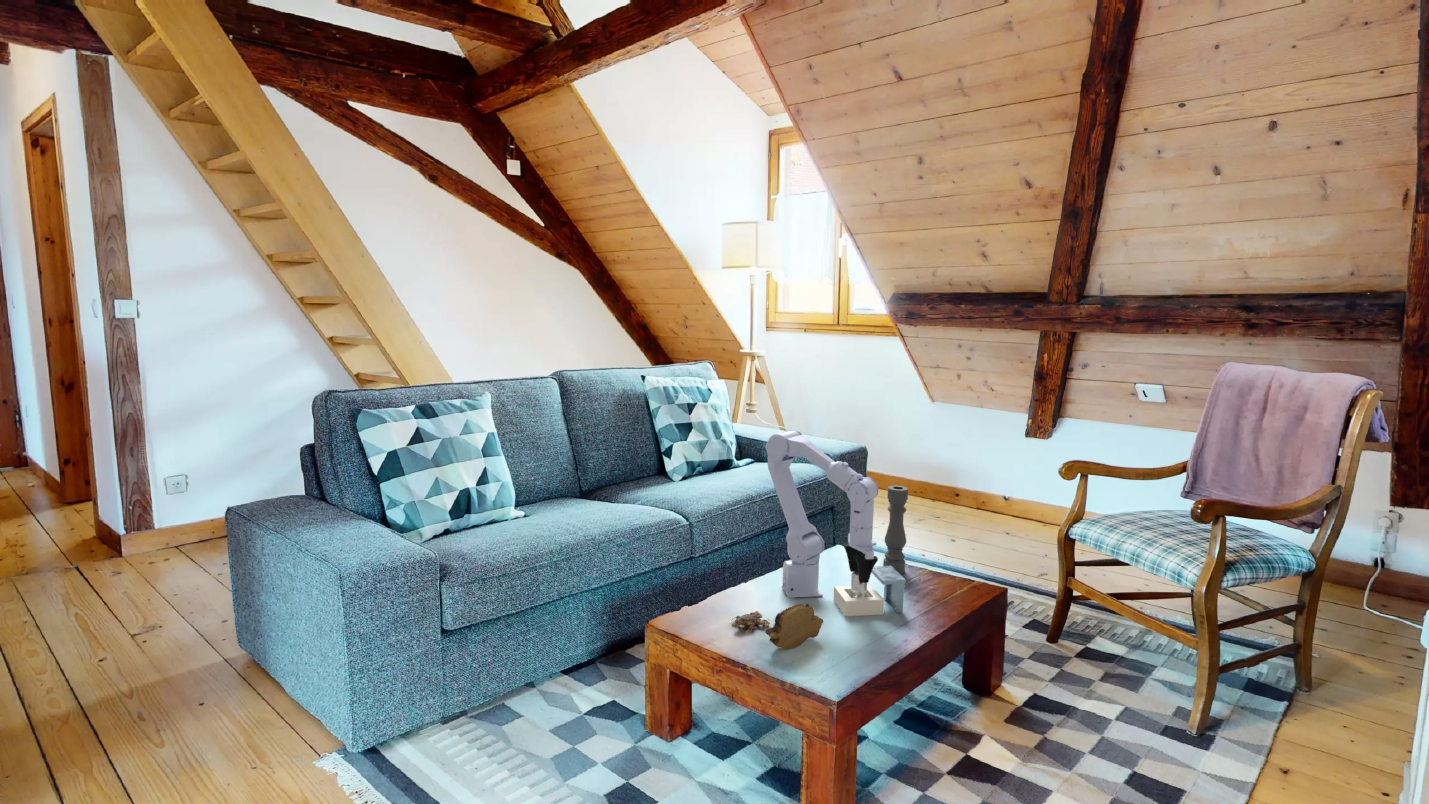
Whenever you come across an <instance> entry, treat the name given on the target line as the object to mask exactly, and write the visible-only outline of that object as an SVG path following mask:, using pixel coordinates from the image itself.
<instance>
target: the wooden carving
mask: <svg viewBox="0 0 1429 804" xmlns="http://www.w3.org/2000/svg"><path fill="white" fill-rule="evenodd" d="M815 614H816V613H815V609H814V606H813V605H812V604H809V603H805V604H801V603H800V604H798V603H796V604H793V605H791V606H788V607H787V608H784V609H783V610H781V612H777V614H776V616H775V618H774V624H773V627H771V628H768V629H767V630H766V629H765V632H764V633H765V634H766V635H767V636H768V637H769V642H770V643H772V645H774V646H775V647H777V648H780V649H784V650H785V649H786V650H790V649H794V648H797V647H799V646H801V645H802V644H804V643H805V642H806V641H808V639H814V638H816V637H818V636H819V634H820V629H822V625H823V623H824V619H823V618H821V617H819V616H818V615H815Z"/></svg>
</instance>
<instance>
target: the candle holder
mask: <svg viewBox="0 0 1429 804" xmlns="http://www.w3.org/2000/svg"><path fill="white" fill-rule="evenodd" d="M908 496H909V487H906V486H904V485H903V486H902V485H890V486H887V499H888V504H889V506H888V507H887V511H888V512H889V522H888V526H887V530H886V533H885V536H884V543H885V545H886V547H887V548H886V549H887V551H886V552H885V553H884V558H883V563H882V566H892V567H893V568H894V569H895V570H896V571H897V572H898V573H899V574H900V575H901V576H903V575H904V574H905V573H906V560H905V557H906V556H905V554H904V553H903V550H904V547H905V545H906V543H907V537H906V531H905V526H904V515H905V513H906V511H907V508H906V507H905V505H906V503H907V501H908V499H909V498H908Z"/></svg>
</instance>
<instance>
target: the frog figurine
mask: <svg viewBox="0 0 1429 804" xmlns="http://www.w3.org/2000/svg"><path fill="white" fill-rule="evenodd" d="M729 623H730V624H731V627H732V628H735V627H737V628H738V627H740V628H745V629H747V630H745V631H744V633H745V634H747V635H750V634H752V633H753V628H756V629H757V627H758V628H760V626H762V629H763V628H764V629H763V630H765V631H766V630H767V629H770V627H771V628H773V627H774V622H773V621H772V620H771V619H770V618H763V615H762V614H761V612H759V610H755V611H752V612H750V613H746V614H742V615H741V616H740V615H736V617H733V618H732V619H730V620H729Z"/></svg>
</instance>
